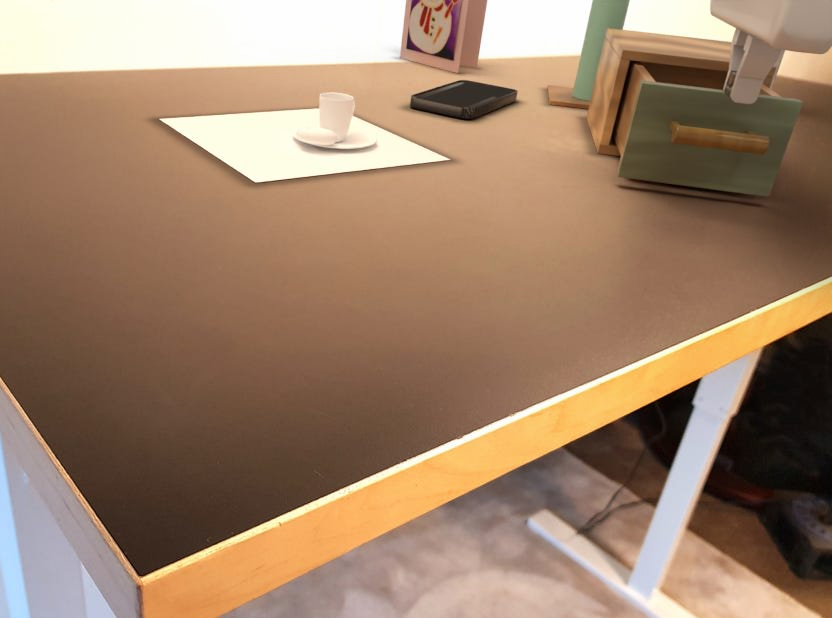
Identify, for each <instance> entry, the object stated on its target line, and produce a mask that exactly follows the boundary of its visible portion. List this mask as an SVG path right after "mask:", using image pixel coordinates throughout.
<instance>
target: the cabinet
mask: <svg viewBox="0 0 832 618" xmlns="http://www.w3.org/2000/svg"><path fill="white" fill-rule="evenodd" d="M731 42H732V41H727V40H717V39H708V38H699V37H690V36H680V35H673V34H665V33H656V32H655V33H654V32H645V31H638V30H627V29H623V30H620V29H611V28H607V30H606V35H605V39H604V43H603V48H602V52H601V56H600V61H599V65H598V69H597V74H596V78H595V82H594V87H593V91H592V95H591V100H590V104H589V109H587V113H586V117H585V118H586V121H587V124H588V128H589V130H590V133H591V137H592V141H593V143H594V146H595V150H596V152H597V154H598V155H599V154H601V155H607V156H615V157H621V155H620V152H619V150H618V147H617V145H616V142H615V140H614V138H613V135H612V131H613V127H614V123H615V119H616V115H617V111H618V107H619V103H620V99H621V95H622V91H623V87H624V83H625V79H626V74H627V70H628V66H629V62H630V60H631V61H640V62H648V63H657V64H665V65H674V66H682V67H691V68H700V69H708V70H717V71H725V72H728V71H729V61H730V51H731ZM775 70H776V67H775V66H773V67H772V69H771V70H770V72H769V73H768V75H767V77H766V78H765V80H764V81H763V84H764V85H765V86H767V87H768V88H770V85H771V82H772V80H773V76H774V73H775Z"/></svg>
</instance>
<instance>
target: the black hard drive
mask: <svg viewBox="0 0 832 618" xmlns="http://www.w3.org/2000/svg"><path fill="white" fill-rule="evenodd" d="M518 92H519V91H518V90H516V89H515V88H510V87H504V86H500V85H494V84H488V83H483V82H479V81H474V80H468V79H467V80H466V79H460V80H455V81H453V82H449V83H445V84H443V85H440V86H436V87H434V88H430V89H427V90H424V91H420V92H417V93H414V94H412V95H410V102H409V103H410V104H409V106H410V107H411V108H413V109H417V110H421V111H422V110H423V111H427V112H432V113H435V114H439V115H445V116H450V117H454V118H458V119H466V120H471V119H472V120H473V119H475V118H478V117H480V116H483V115H485V114H487V113H490V112H492V111H494V110H497V109H499V108H503V107H504V106H505V107H506V106H508V105H509V104H512V103H514V102H516V101H517V98H518Z"/></svg>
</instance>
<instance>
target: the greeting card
mask: <svg viewBox="0 0 832 618" xmlns="http://www.w3.org/2000/svg"><path fill="white" fill-rule="evenodd" d="M487 6H488V0H405V7H404V18H403V24H402V25H403V26H402V36H401V45H400V52H399V53H400V54H399V58H400V59H402V60H407V61H411V62H414V63H417V64H422V65H425V66H428V67H433V68H436V69H441V70H444V71H447V72H451V73H455V74H459V72H460V66H463V67H469V68H470V67H471V68H476V69H477V68H478V65H479V64H478V63H479V56H480V51H481V45H482V37H483V32H484V31H483V30H484V25H485V20H486V19H485V18H486V12H487Z"/></svg>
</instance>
